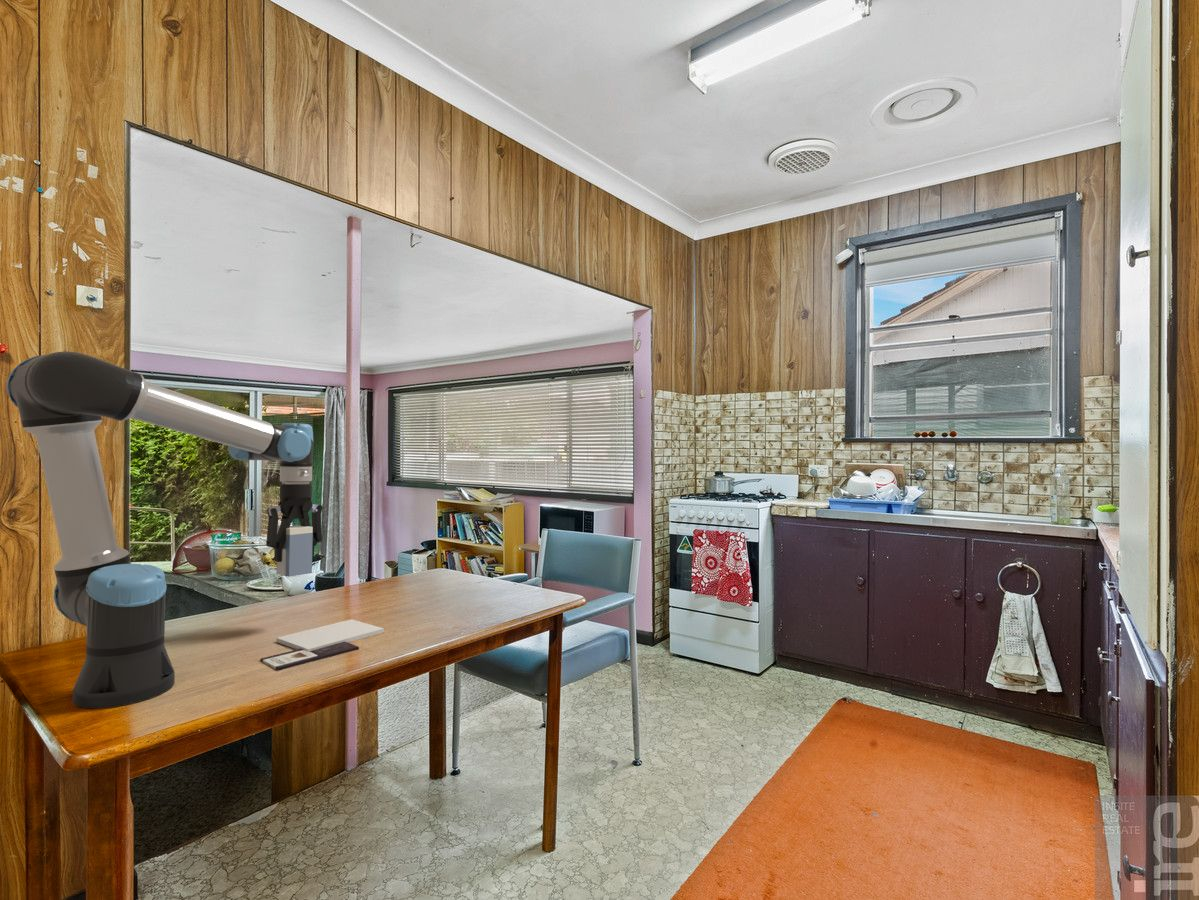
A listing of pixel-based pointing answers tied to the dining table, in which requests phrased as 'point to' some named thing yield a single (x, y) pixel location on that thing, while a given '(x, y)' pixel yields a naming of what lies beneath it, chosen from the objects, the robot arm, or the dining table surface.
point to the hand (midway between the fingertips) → (294, 572)
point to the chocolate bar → (306, 655)
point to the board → (329, 635)
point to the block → (298, 550)
